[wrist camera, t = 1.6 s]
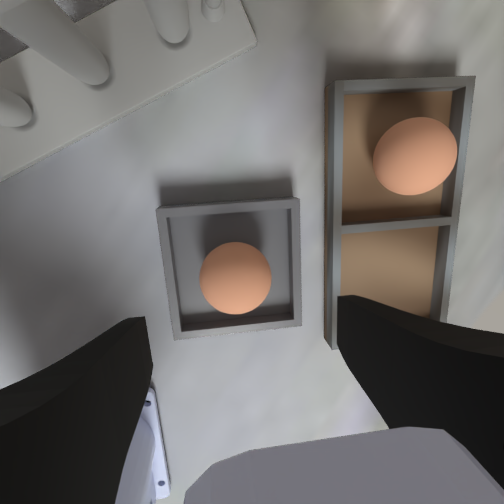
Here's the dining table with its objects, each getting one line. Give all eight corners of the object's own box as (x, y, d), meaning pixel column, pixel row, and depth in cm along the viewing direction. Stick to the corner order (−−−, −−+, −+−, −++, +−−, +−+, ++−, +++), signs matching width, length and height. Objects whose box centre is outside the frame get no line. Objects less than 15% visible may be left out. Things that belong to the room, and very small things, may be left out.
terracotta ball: (266, 293, 20) (279, 323, 16) (204, 300, 19) (201, 332, 15) (263, 232, 19) (276, 248, 15) (197, 238, 18) (192, 256, 14)
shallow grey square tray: (295, 315, 21) (302, 325, 19) (176, 328, 20) (174, 340, 19) (293, 196, 19) (299, 198, 17) (160, 206, 18) (155, 209, 17)
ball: (420, 190, 19) (472, 195, 15) (359, 194, 19) (396, 200, 15) (425, 122, 18) (482, 108, 14) (361, 124, 18) (401, 111, 14)
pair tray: (430, 325, 22) (444, 336, 21) (324, 338, 22) (332, 349, 20) (455, 83, 18) (475, 75, 17) (325, 87, 17) (334, 80, 16)
